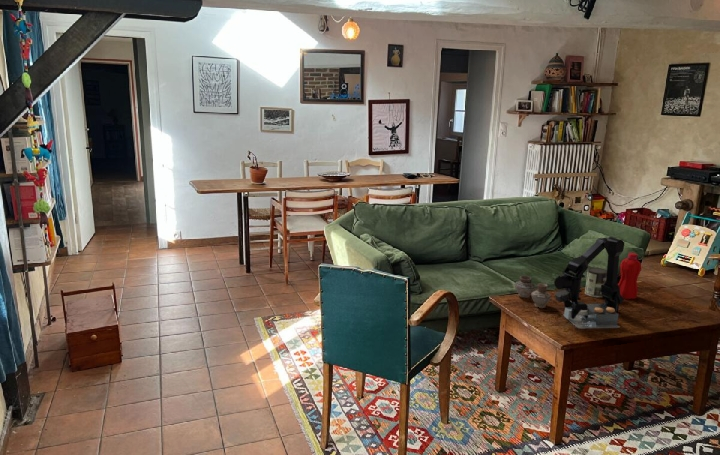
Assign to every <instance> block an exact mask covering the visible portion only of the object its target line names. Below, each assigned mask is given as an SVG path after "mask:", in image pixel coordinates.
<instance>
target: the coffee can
mask: <svg viewBox="0 0 720 455" xmlns="http://www.w3.org/2000/svg"><path fill="white" fill-rule="evenodd" d="M606 277H607V269H605V268H601V267H595V266H593V267H592V266H591V267H588V268H587V274H586V280H585V288H584V289H585V290H584V294H585V295H587V296H589V297H592V298H593V297H594V298H602V294H601V292H600V291H601V285H603V284H604V283H605V282H606Z"/></svg>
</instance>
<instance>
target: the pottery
mask: <svg viewBox="0 0 720 455" xmlns="http://www.w3.org/2000/svg"><path fill="white" fill-rule="evenodd" d="M532 279H533V278H532V276H528V275H520V276H519V281H516V282H514V288H515V291H516V292H517V293H518V296H519V297H521V298H524V299H525V298H526V299H528V298H530V296H531V299H532V301H533V302H534V305H535V306H534V307H536V308H538V307H539V308H540V309H544V307H545V308H546V307H547V306H546V305H547V304H549V303H550V300H551V298H552V295H551V294H550V293H549V292H548V291H547V289H548V284H547V283H541V282H539V283H537V285H536V284H535V283H533V282H532ZM536 288H537V289H536Z"/></svg>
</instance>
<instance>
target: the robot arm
mask: <svg viewBox="0 0 720 455" xmlns="http://www.w3.org/2000/svg"><path fill="white" fill-rule="evenodd" d="M624 248H625V241H624V240H623V239H620V238H617V237H614V236H609V237H600V238H599V237H598V238H597V239H596V240H595V242H594V243H593V244H592V245H591V246H590V247H589V248H588V249H586V250H585V251H584V253H582V254H581V255H580V256H577V257H575V258H573V259H572V260H570V261H569V262H568V263H567V265H566V267H565V268H564V270H563V271H562V274H558V275H557V277H556V278H555V279H554V281H553V283H554V286H555V288H556V290H558V292H554V297H555V300H556V301H558V303H563V304H564V309H565V308H568V307H570V308H571V309H572V319H574V318H575V317H576V316H577V314H578V313H579V312H580V311H581V310H587V308H588V306H587V304H588V303H585V302H584V301H580V300H582V298H581V297H580V293H582V291H583V289H581V287H582V285H581V284H582V279H584V278H586V276H585V275H584V274H585V272H586V271H588V268H589V264H590V263H591V262H592V261H593V260H594V259H595V258H596V257H598V255H599V254H600V253H601V252H603V251H604V250H605V251H606V253H607V265H606V270H607V277H606V282H605V283H604V284H603V285H601V291H600V292H601V294H602V297H601V298H602V299H604V301H603V304H605V305H606V306H608V307H611V308H614V309H615V312H616V313H618V314H621V313H620V311H619V308H620V304H622V303H623V301H624V299H623V297H622V296H621V295H620V288H619V286H618V284H619V283H618V274H619V263H620V262H619V261H620V255H622V254H623V252H624Z"/></svg>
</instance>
